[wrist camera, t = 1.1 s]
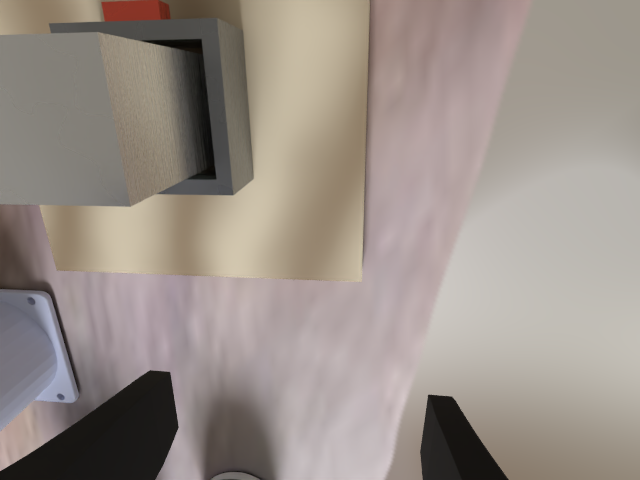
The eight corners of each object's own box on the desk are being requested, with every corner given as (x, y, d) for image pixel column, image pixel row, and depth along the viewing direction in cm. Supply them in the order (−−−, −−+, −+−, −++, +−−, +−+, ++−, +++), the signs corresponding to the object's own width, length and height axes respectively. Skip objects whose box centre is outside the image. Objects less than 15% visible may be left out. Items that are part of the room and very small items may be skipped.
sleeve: (128, 177, 19) (87, 193, 16) (99, 18, 16) (43, 3, 13) (253, 178, 18) (233, 195, 15) (241, 13, 16) (215, -4, 13)
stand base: (76, 259, 22) (57, 270, 21) (-13, -92, 17) (-47, -109, 15) (361, 268, 21) (361, 281, 19) (373, -117, 15) (373, -138, 13)
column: (143, 157, 18) (-12, 205, 11) (127, 58, 17) (-68, 34, 9) (230, 157, 18) (132, 208, 10) (221, 56, 16) (99, 29, 9)
